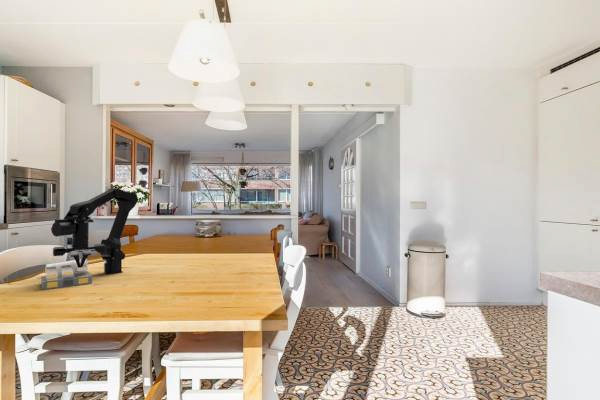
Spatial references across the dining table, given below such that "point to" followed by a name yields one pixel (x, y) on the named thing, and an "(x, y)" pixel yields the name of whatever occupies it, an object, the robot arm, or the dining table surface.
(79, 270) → the switch
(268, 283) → the dining table surface
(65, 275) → the switch
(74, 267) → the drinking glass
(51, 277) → the switch
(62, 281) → the pill organizer box
